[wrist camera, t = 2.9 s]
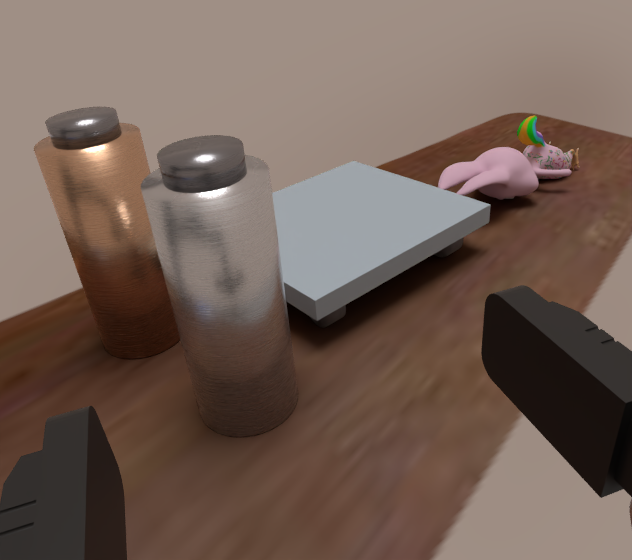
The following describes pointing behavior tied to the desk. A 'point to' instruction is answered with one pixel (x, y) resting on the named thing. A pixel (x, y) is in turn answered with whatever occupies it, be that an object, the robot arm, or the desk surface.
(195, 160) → the steel canister
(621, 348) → the robot arm
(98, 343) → the desk surface
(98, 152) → the copper canister
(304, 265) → the grey square platform
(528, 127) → the rabbit figure
